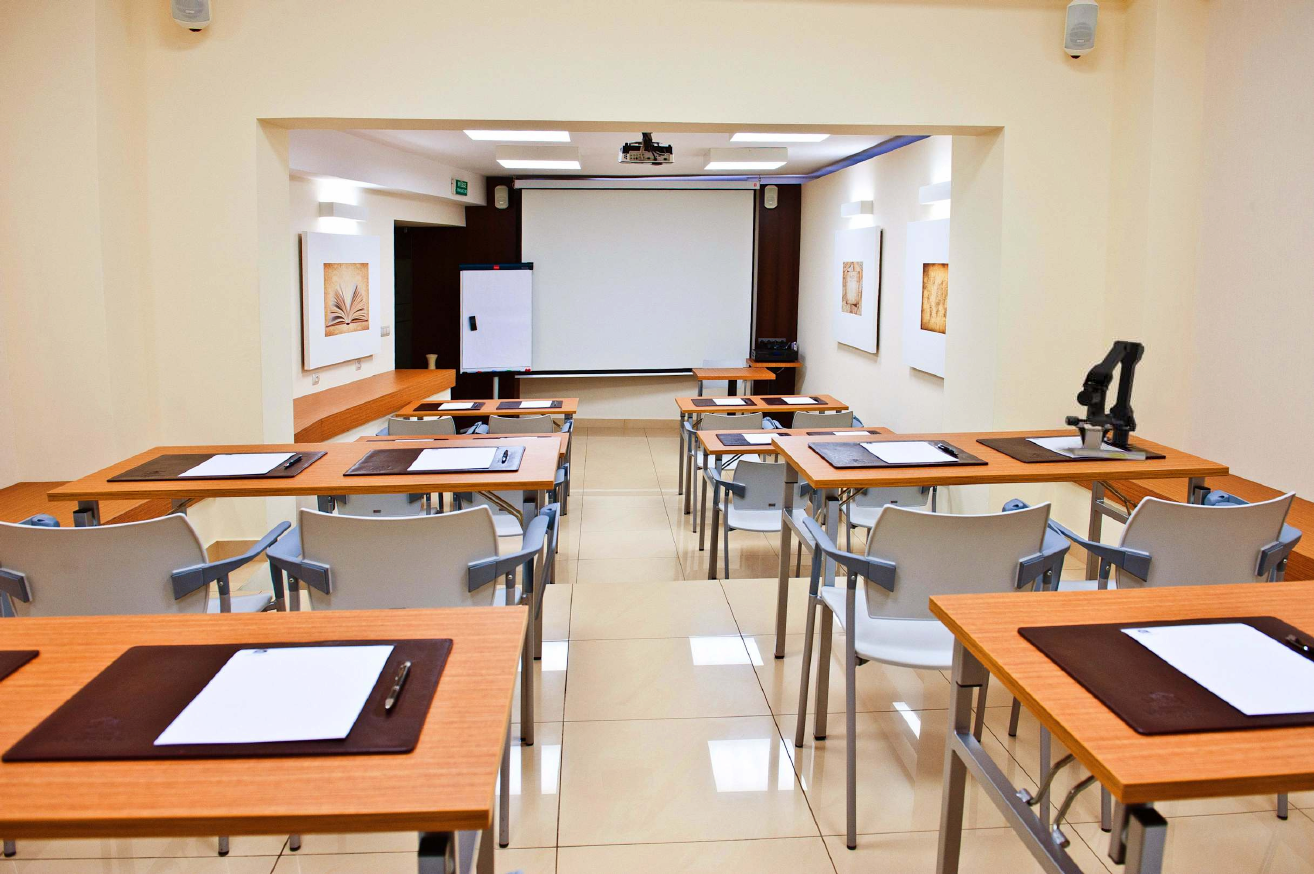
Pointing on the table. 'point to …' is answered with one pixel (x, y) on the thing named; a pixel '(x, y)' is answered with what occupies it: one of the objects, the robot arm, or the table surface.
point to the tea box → (1092, 438)
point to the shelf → (1108, 453)
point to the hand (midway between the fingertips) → (1091, 445)
